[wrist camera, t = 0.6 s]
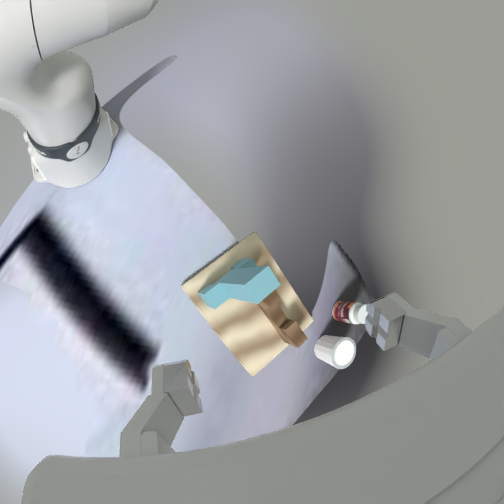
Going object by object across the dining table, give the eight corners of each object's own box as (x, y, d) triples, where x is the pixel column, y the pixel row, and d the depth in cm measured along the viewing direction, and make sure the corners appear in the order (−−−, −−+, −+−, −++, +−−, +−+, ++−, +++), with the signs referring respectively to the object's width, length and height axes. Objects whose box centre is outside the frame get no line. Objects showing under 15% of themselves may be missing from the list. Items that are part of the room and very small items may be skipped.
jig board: (180, 285, 48) (187, 287, 42) (252, 232, 54) (267, 227, 48) (249, 374, 52) (264, 385, 46) (309, 319, 58) (328, 323, 52)
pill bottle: (336, 297, 61) (361, 299, 54) (349, 305, 63) (375, 308, 55) (328, 316, 60) (353, 320, 52) (342, 324, 61) (367, 328, 54)
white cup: (323, 367, 59) (342, 375, 52) (306, 350, 57) (326, 357, 51) (340, 344, 61) (361, 349, 55) (325, 326, 60) (346, 330, 53)
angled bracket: (197, 292, 48) (225, 299, 33) (241, 259, 51) (284, 252, 37) (207, 306, 48) (239, 319, 34) (250, 272, 52) (296, 270, 37)
